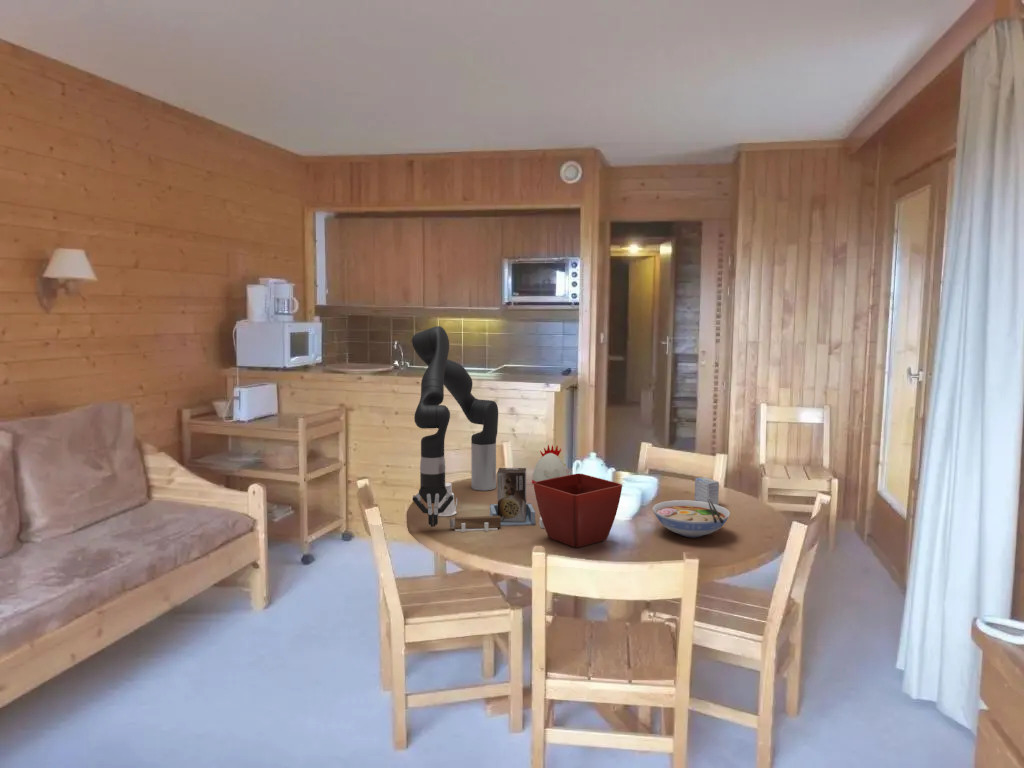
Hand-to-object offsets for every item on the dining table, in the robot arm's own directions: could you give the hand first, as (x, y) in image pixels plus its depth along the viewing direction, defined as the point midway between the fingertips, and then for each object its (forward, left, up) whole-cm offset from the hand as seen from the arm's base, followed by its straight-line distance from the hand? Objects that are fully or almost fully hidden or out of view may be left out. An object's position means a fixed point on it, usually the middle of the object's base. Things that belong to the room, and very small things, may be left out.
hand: (433, 525), depth 225 cm
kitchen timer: (-54, +45, -2) cm, 71 cm away
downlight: (-17, +4, -2) cm, 18 cm away
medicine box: (-19, +94, -2) cm, 96 cm away
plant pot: (+13, +42, -2) cm, 44 cm away
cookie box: (-7, +25, -1) cm, 26 cm away
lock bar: (0, +14, -1) cm, 14 cm away
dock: (-7, +25, -1) cm, 26 cm away
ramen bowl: (+12, +77, -2) cm, 78 cm away
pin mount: (0, +20, -1) cm, 20 cm away
